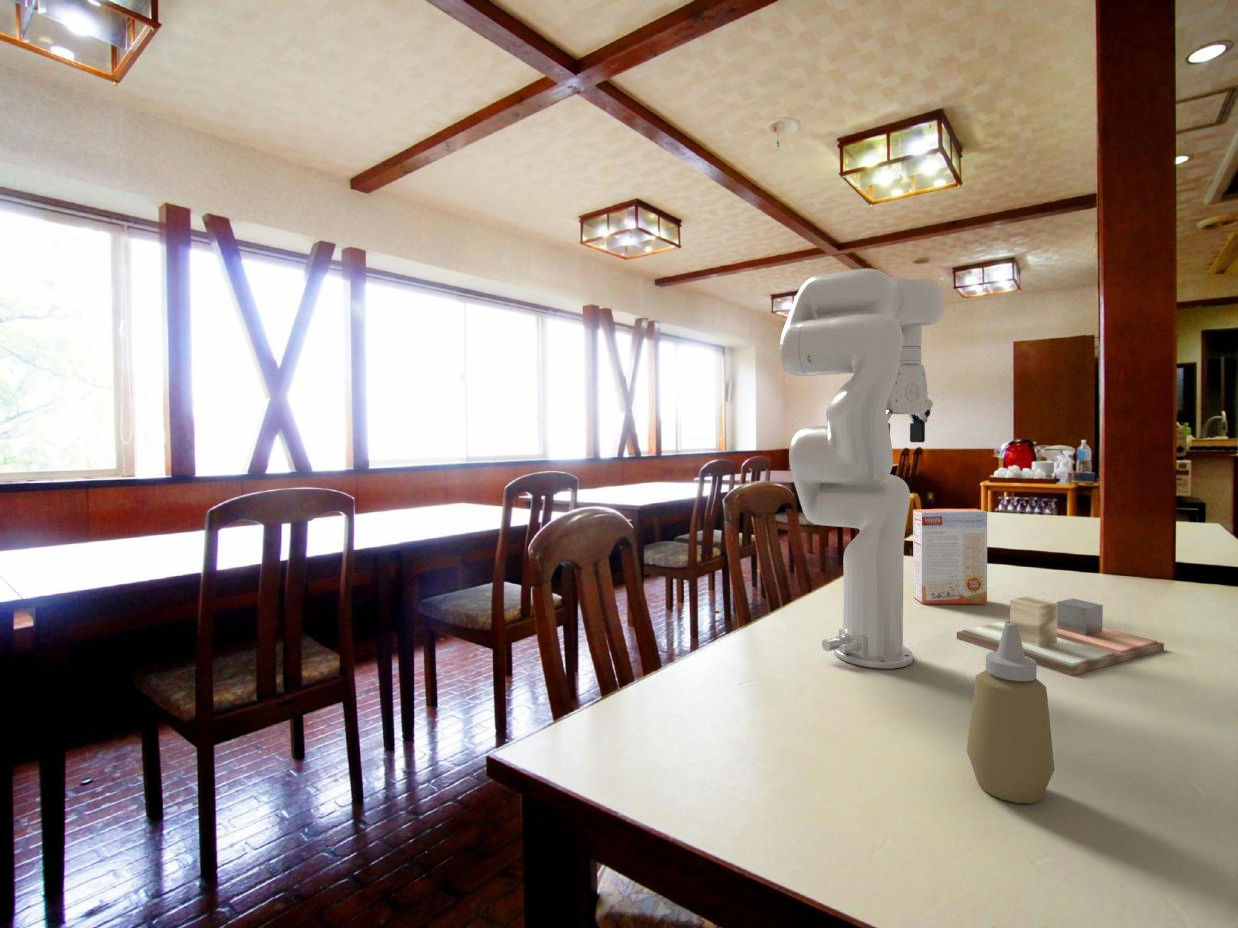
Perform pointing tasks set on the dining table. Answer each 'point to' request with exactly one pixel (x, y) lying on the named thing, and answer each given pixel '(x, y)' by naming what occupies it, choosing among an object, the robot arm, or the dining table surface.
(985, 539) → the cracker box
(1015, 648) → the squeeze bottle
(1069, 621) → the metal block
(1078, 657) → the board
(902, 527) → the robot arm
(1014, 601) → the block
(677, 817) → the dining table surface
